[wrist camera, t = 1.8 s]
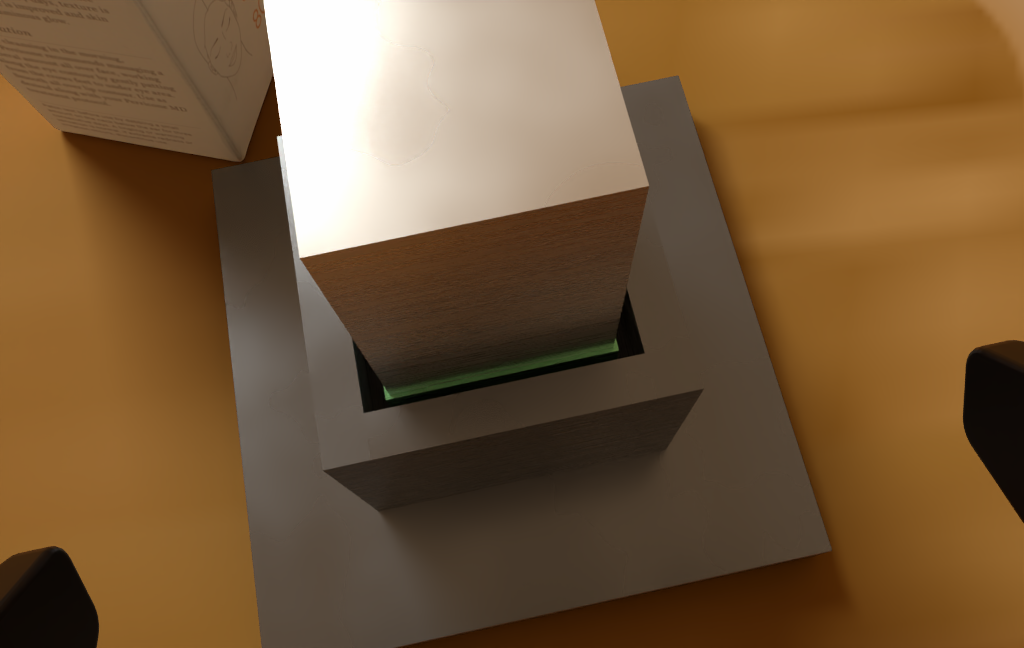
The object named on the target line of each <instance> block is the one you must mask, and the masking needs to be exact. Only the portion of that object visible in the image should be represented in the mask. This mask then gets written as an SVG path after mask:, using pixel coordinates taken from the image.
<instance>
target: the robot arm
mask: <svg viewBox="0 0 1024 648" xmlns="http://www.w3.org/2000/svg"><path fill="white" fill-rule="evenodd" d="M963 424H964V429H965V433H966V436H967V438H968V440H969V442H970V444H971V446H972V447H973V449H974V450H975V452H976V453H977V455H978V456H979V458H980V459H981V460H982V462H983V463H984V465H985V466H986V468H987V469H988V471H989V472H990V474H991V475H992V477H993V478H994V480H995V481H996V483H997V484H998V486H999V487H1000V489H1001V490H1002V492H1003V493H1004V495H1005V496H1006V498H1007V499H1008V501H1009V502H1010V504H1011V505H1012V507H1013V508H1014V510H1015V511H1016V513H1017V514H1018V516H1019V517H1020V519H1021V520H1022V521H1023V523H1024V342H1022V341H1017V340H1009V341H1004V342H999V343H994V344H990V345H985V346H981V347H977V348H975V349H974V350H973V351H972V352H971V353H970V354H969V356H968V358H967V363H966V374H965V391H964V408H963ZM98 634H99V622H98V615H97V612H96V609H95V606H94V604H93V602H92V600H91V598H90V596H89V594H88V592H87V590H86V588H85V586H84V584H83V582H82V580H81V578H80V576H79V574H78V572H77V570H76V568H75V566H74V564H73V563H72V561H71V559H70V557H69V556H68V554H67V553H66V552H65V551H64V550H63V549H61V548H59V547H56V546H51V547H46V548H41V549H36V550H32V551H27V552H22V553H18V554H16V555H13V556H11V557H10V558H8V559H7V560H6V561H4V562H3V563H2V564H0V648H96V647H97V641H98Z"/></svg>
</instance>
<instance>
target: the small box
mask: <svg viewBox="0 0 1024 648" xmlns="http://www.w3.org/2000/svg"><path fill="white" fill-rule="evenodd" d="M273 72H274V71H273V64H272V57H271V49H270V42H269V35H268V28H267V21H266V14H265V6H264V0H0V73H1V74H2V75H3V76H4V77H5V79H6V80H7V81H8V82H9V83H10V84H11V85H12V86H13V87H15V88H16V89H17V90H18V91H19V92H20V93H21V94H22V95H23V96H24V97H25V98H26V99H27V100H28V101H29V102H30V103H31V104H32V106H33V107H34V108H35V109H36V110H37V111H38V112H39V113H40V114H41V115H42V116H43V117H44V118H45V119H46V120H47V121H48V122H49V123H50V124H51V125H52V126H53V127H55V128H56V129H58V130H61V131H65V132H71V133H77V134H83V135H88V136H94V137H99V138H104V139H110V140H115V141H121V142H126V143H132V144H138V145H143V146H149V147H155V148H160V149H166V150H172V151H177V152H183V153H189V154H195V155H201V156H207V157H212V158H218V159H224V160H230V161H234V162H241V161H242V160H244V158H245V155H246V152H247V148H248V145H249V142H250V140H251V136H252V133H253V130H254V127H255V124H256V121H257V119H258V116H259V113H260V110H261V107H262V104H263V102H264V99H265V96H266V93H267V90H268V87H269V84H270V81H271V79H272V76H273Z"/></svg>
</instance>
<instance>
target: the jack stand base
mask: <svg viewBox="0 0 1024 648" xmlns="http://www.w3.org/2000/svg"><path fill="white" fill-rule="evenodd" d="M620 88H621V92H622V95H623V99H624V102H625V105H626V109H627V112H628V116H629V119H630V122H631V126H632V129H633V132H634V136H635V139H636V143H637V146H638V149H639V153H640V156H641V159H642V163H643V166H644V170H645V173H646V176H647V180H648V183H649V189H648V194H647V198H646V203H645V207H644V212H643V216H642V221H641V225H640V230H639V234H638V239H637V243H636V248H635V252H634V257H633V261H632V266H631V270H630V275H629V279H628V284H627V288H626V293H625V297H624V302H623V306H622V311H621V315H620V320H619V324H618V329H617V333H616V341H617V345H618V349H619V352H618V357H617V359H616V360H612V361H607V362H602V363H597V364H593V365H588V366H583V367H579V368H574V369H569V370H565V371H560V372H555V373H550V374H546V375H541V376H536V377H532V378H527V379H522V380H518V381H513V382H508V383H504V384H499V385H494V386H489V387H485V388H480V389H475V390H471V391H466V392H461V393H457V394H452V395H447V396H442V397H438V398H433V399H428V400H424V401H419V402H414V403H410V404H405V405H400V406H396V407H390V405H389V404H388V403H387V401H386V398H385V392H384V386H383V384H382V382H381V381H380V379H379V378H378V376H377V375H376V373H375V372H374V370H373V369H372V367H371V366H370V364H369V363H368V361H367V360H366V358H365V357H364V355H363V354H362V352H361V351H360V349H359V348H358V346H357V345H356V343H355V342H354V340H353V338H352V337H351V335H350V334H349V332H348V331H347V329H346V328H345V326H344V325H343V323H342V322H341V320H340V319H339V317H338V316H337V314H336V313H335V311H334V310H333V308H332V307H331V305H330V304H329V302H328V301H327V299H326V298H325V296H324V294H323V293H322V291H321V290H320V288H319V287H318V285H317V284H316V282H315V281H314V279H313V278H312V276H311V275H310V273H309V272H308V270H307V269H306V267H305V266H304V264H303V263H302V261H301V260H300V258H299V250H298V243H297V236H296V229H295V222H294V214H293V207H292V200H291V193H290V186H289V179H288V171H287V164H286V157H285V150H284V143H283V136H277V141H278V148H279V155H280V156H279V157H274V158H269V159H264V160H260V161H255V162H250V163H245V164H240V165H235V166H230V167H225V168H220V169H215V170H211V172H212V182H213V191H214V201H215V210H216V219H217V229H218V238H219V248H220V257H221V267H222V276H223V285H224V295H225V304H226V314H227V323H228V333H229V342H230V351H231V361H232V370H233V380H234V389H235V399H236V408H237V417H238V427H239V436H240V446H241V455H242V464H243V474H244V483H245V493H246V502H247V512H248V521H249V530H250V540H251V549H252V559H253V568H254V578H255V587H256V596H257V606H258V615H259V625H260V634H261V644H262V648H401V647H406V646H410V645H415V644H419V643H424V642H428V641H433V640H437V639H442V638H446V637H451V636H455V635H460V634H464V633H469V632H473V631H478V630H482V629H487V628H491V627H496V626H500V625H505V624H509V623H514V622H518V621H523V620H527V619H532V618H536V617H541V616H545V615H550V614H554V613H559V612H563V611H568V610H572V609H577V608H581V607H586V606H590V605H595V604H599V603H604V602H608V601H613V600H617V599H622V598H626V597H631V596H635V595H640V594H644V593H649V592H653V591H658V590H662V589H667V588H671V587H676V586H680V585H685V584H689V583H694V582H698V581H703V580H707V579H712V578H716V577H721V576H726V575H730V574H735V573H739V572H744V571H748V570H753V569H757V568H762V567H766V566H771V565H775V564H780V563H784V562H789V561H793V560H798V559H802V558H807V557H811V556H816V555H819V554H822V553H826V552H829V551H832V548H831V545H830V542H829V539H828V536H827V533H826V530H825V527H824V524H823V520H822V517H821V514H820V511H819V508H818V505H817V502H816V499H815V496H814V493H813V490H812V487H811V483H810V480H809V477H808V474H807V471H806V468H805V465H804V462H803V459H802V456H801V453H800V449H799V446H798V443H797V440H796V437H795V434H794V431H793V428H792V425H791V422H790V419H789V416H788V412H787V409H786V406H785V403H784V400H783V397H782V394H781V391H780V388H779V385H778V382H777V378H776V375H775V372H774V369H773V366H772V363H771V360H770V357H769V354H768V351H767V348H766V345H765V341H764V338H763V335H762V332H761V329H760V326H759V323H758V320H757V317H756V314H755V311H754V307H753V304H752V301H751V298H750V295H749V292H748V289H747V286H746V283H745V280H744V277H743V274H742V270H741V267H740V264H739V261H738V258H737V255H736V252H735V249H734V246H733V243H732V240H731V236H730V233H729V230H728V227H727V224H726V221H725V218H724V215H723V212H722V209H721V206H720V203H719V199H718V196H717V193H716V190H715V187H714V184H713V181H712V178H711V175H710V172H709V169H708V165H707V162H706V159H705V156H704V153H703V150H702V147H701V144H700V141H699V138H698V135H697V132H696V128H695V125H694V122H693V119H692V116H691V113H690V110H689V107H688V104H687V101H686V98H685V94H684V91H683V88H682V85H681V82H680V79H679V76H674V77H669V78H664V79H659V80H654V81H649V82H644V83H639V84H634V85H629V86H624V87H620Z"/></svg>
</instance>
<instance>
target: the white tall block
mask: <svg viewBox="0 0 1024 648" xmlns="http://www.w3.org/2000/svg"><path fill="white" fill-rule="evenodd" d="M264 6H265V14H266V21H267V28H268V35H269V42H270V49H271V57H272V64H273V71H274V78H275V85H276V92H277V100H278V107H279V114H280V121H281V128H282V136H283V143H284V150H285V157H286V164H287V171H288V179H289V186H290V193H291V200H292V207H293V214H294V222H295V229H296V236H297V243H298V250H299V258H300V260H301V261H302V263H303V264H304V266H305V267H306V269H307V270H308V272H309V273H310V275H311V276H312V278H313V279H314V281H315V282H316V284H317V285H318V287H319V288H320V290H321V291H322V293H323V294H324V296H325V298H326V299H327V301H328V302H329V304H330V305H331V307H332V308H333V310H334V311H335V313H336V314H337V316H338V317H339V319H340V320H341V322H342V323H343V325H344V326H345V328H346V329H347V331H348V332H349V334H350V335H351V337H352V338H353V340H354V342H355V343H356V345H357V346H358V348H359V349H360V351H361V352H362V354H363V355H364V357H365V358H366V360H367V361H368V363H369V364H370V366H371V367H372V369H373V370H374V372H375V373H376V375H377V376H378V378H379V379H380V381H381V382H382V384H383V386H384V392H385V398H386V401H387V403H388V404H389V405H390V407H396V406H400V405H405V404H410V403H414V402H419V401H424V400H428V399H433V398H438V397H442V396H447V395H452V394H457V393H461V392H466V391H471V390H475V389H480V388H485V387H489V386H494V385H499V384H504V383H508V382H513V381H518V380H522V379H527V378H532V377H536V376H541V375H546V374H550V373H555V372H560V371H565V370H569V369H574V368H579V367H583V366H588V365H593V364H597V363H602V362H607V361H612V360H616V359H617V357H618V352H619V349H618V345H617V341H616V333H617V329H618V324H619V320H620V315H621V311H622V306H623V302H624V297H625V293H626V288H627V284H628V279H629V275H630V270H631V266H632V261H633V257H634V252H635V248H636V243H637V239H638V234H639V230H640V225H641V221H642V216H643V212H644V207H645V203H646V198H647V194H648V189H649V183H648V180H647V176H646V173H645V170H644V166H643V163H642V159H641V156H640V153H639V149H638V146H637V143H636V139H635V136H634V132H633V129H632V126H631V122H630V119H629V116H628V112H627V109H626V105H625V102H624V99H623V95H622V92H621V88H620V85H619V82H618V78H617V75H616V72H615V68H614V65H613V61H612V58H611V55H610V51H609V48H608V45H607V41H606V38H605V34H604V31H603V28H602V24H601V21H600V17H599V14H598V11H597V7H596V4H595V1H594V0H264Z"/></svg>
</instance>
